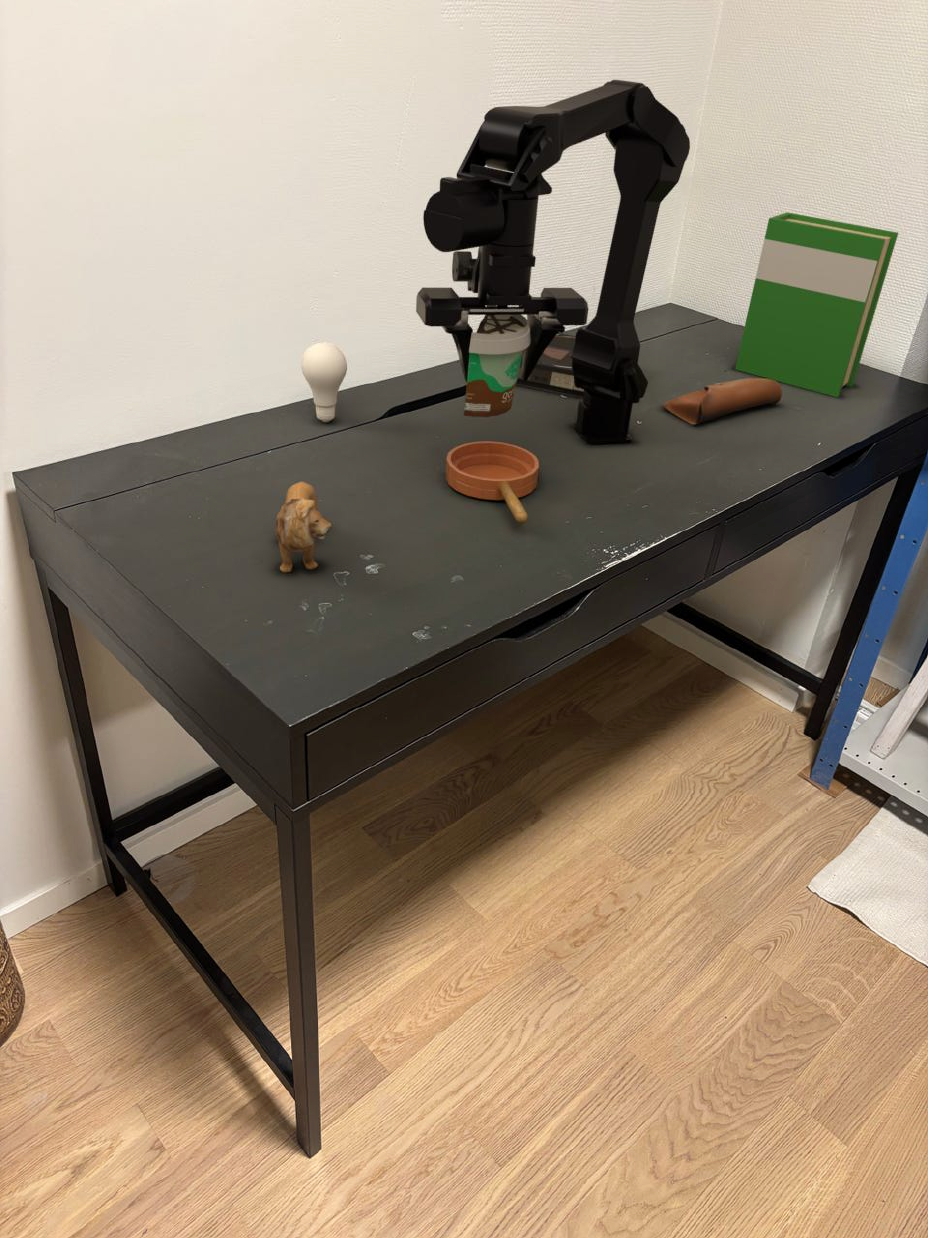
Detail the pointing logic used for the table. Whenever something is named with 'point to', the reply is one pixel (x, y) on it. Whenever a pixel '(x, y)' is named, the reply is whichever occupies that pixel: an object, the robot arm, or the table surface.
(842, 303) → the hardback book
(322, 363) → the lightbulb
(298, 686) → the table surface
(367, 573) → the table surface
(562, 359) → the portable cd player
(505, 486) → the pan handle
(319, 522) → the lion figurine
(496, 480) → the pan
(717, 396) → the sunglasses case
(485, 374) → the food container
